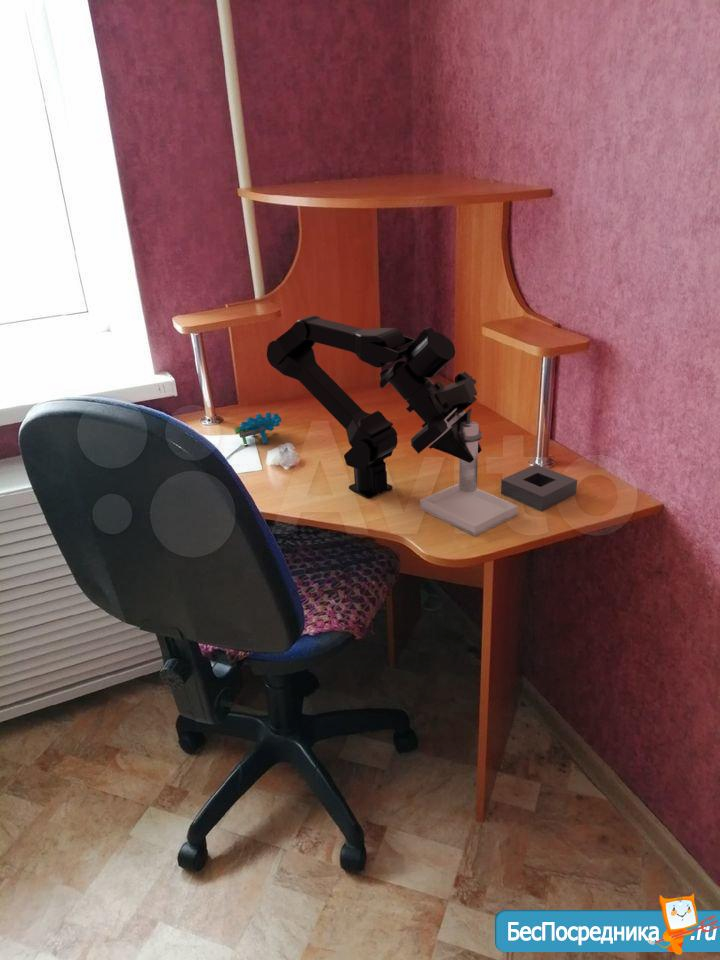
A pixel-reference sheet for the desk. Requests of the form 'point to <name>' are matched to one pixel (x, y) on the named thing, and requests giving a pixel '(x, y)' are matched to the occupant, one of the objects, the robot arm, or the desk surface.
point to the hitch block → (538, 487)
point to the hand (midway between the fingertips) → (476, 456)
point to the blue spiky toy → (258, 426)
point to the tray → (468, 509)
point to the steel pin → (466, 469)
